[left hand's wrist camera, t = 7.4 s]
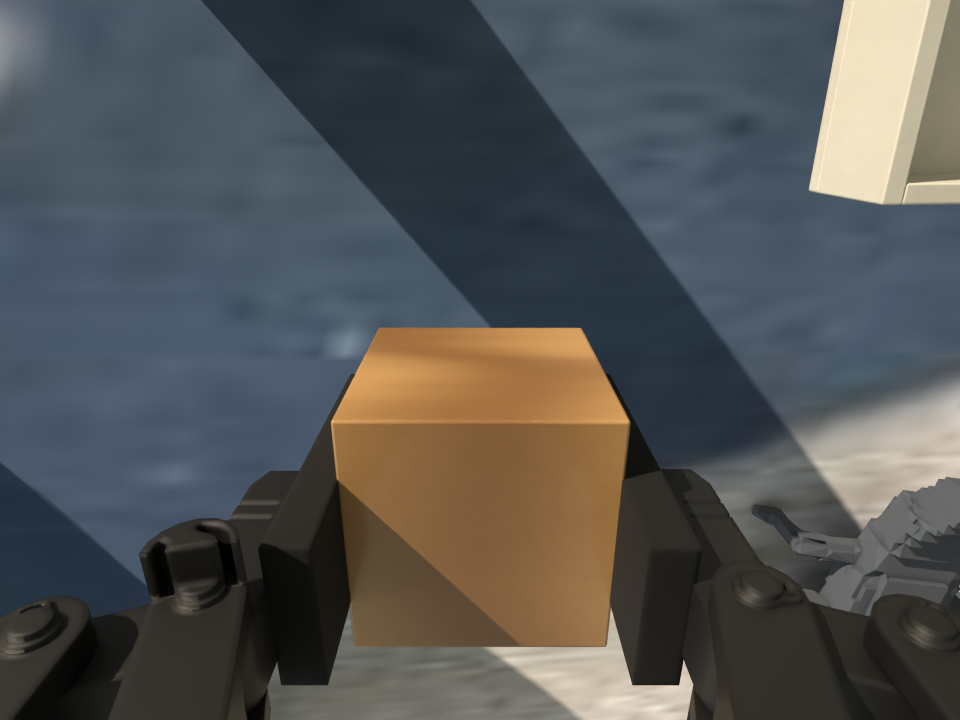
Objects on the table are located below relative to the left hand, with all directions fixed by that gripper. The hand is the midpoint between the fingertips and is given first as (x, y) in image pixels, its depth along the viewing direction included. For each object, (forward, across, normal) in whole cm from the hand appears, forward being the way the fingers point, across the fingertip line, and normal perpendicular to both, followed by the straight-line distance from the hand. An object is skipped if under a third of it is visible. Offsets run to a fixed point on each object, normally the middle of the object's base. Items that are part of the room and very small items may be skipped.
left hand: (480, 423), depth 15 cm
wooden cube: (0, 0, 0) cm, 0 cm away
